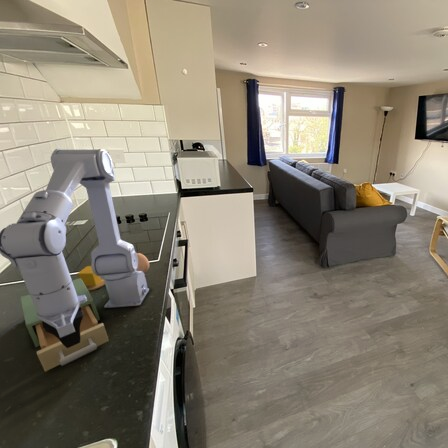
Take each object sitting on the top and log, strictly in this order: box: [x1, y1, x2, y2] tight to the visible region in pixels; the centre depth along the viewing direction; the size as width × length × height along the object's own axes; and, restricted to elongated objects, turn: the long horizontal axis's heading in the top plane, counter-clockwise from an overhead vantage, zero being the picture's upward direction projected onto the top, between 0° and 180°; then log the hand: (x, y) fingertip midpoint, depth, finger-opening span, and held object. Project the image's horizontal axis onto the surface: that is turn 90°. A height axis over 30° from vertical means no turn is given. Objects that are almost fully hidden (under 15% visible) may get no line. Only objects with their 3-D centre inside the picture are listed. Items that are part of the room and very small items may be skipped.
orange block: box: [76, 265, 103, 286], centre depth 85 cm, size 5×5×5 cm
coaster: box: [86, 279, 106, 292], centre depth 85 cm, size 9×9×1 cm
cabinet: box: [19, 278, 101, 348], centre depth 69 cm, size 15×13×7 cm
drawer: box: [35, 305, 110, 372], centre depth 61 cm, size 18×11×5 cm, turn 48°
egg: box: [136, 252, 150, 275], centre depth 89 cm, size 7×7×8 cm
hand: (73, 343), depth 52 cm, fingers closed
